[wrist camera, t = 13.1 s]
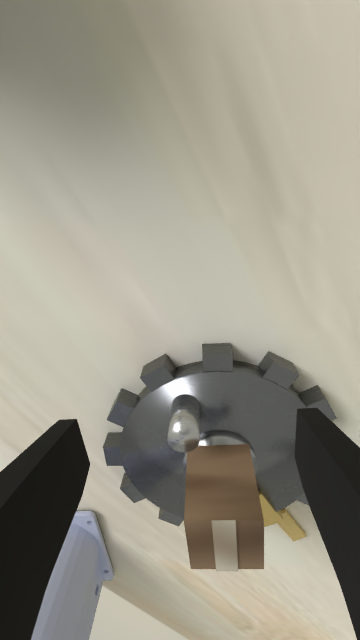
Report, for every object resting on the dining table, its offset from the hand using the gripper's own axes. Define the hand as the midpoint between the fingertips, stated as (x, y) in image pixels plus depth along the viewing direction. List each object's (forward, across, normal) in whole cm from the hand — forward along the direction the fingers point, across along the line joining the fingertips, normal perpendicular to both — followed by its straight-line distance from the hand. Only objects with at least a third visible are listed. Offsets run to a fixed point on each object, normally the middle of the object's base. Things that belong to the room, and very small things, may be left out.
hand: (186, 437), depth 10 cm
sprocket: (+10, -1, +10) cm, 14 cm away
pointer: (+10, -6, +19) cm, 23 cm away
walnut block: (+8, -1, +10) cm, 13 cm away
